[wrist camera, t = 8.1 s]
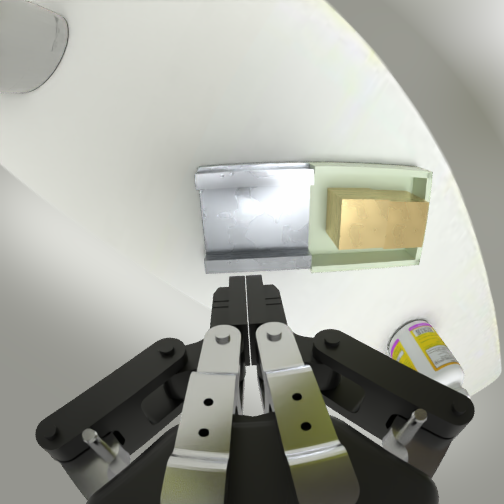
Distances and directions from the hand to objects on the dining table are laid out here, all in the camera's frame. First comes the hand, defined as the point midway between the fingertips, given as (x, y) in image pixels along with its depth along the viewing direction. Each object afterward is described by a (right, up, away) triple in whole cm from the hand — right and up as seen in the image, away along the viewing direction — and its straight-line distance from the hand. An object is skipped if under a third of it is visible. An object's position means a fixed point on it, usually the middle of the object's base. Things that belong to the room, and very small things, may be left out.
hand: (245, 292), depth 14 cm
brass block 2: (+13, +6, +11) cm, 18 cm away
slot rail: (+1, +5, +11) cm, 12 cm away
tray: (+11, +6, +11) cm, 17 cm away
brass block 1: (+9, +6, +11) cm, 15 cm away
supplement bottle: (+21, -9, +19) cm, 29 cm away
